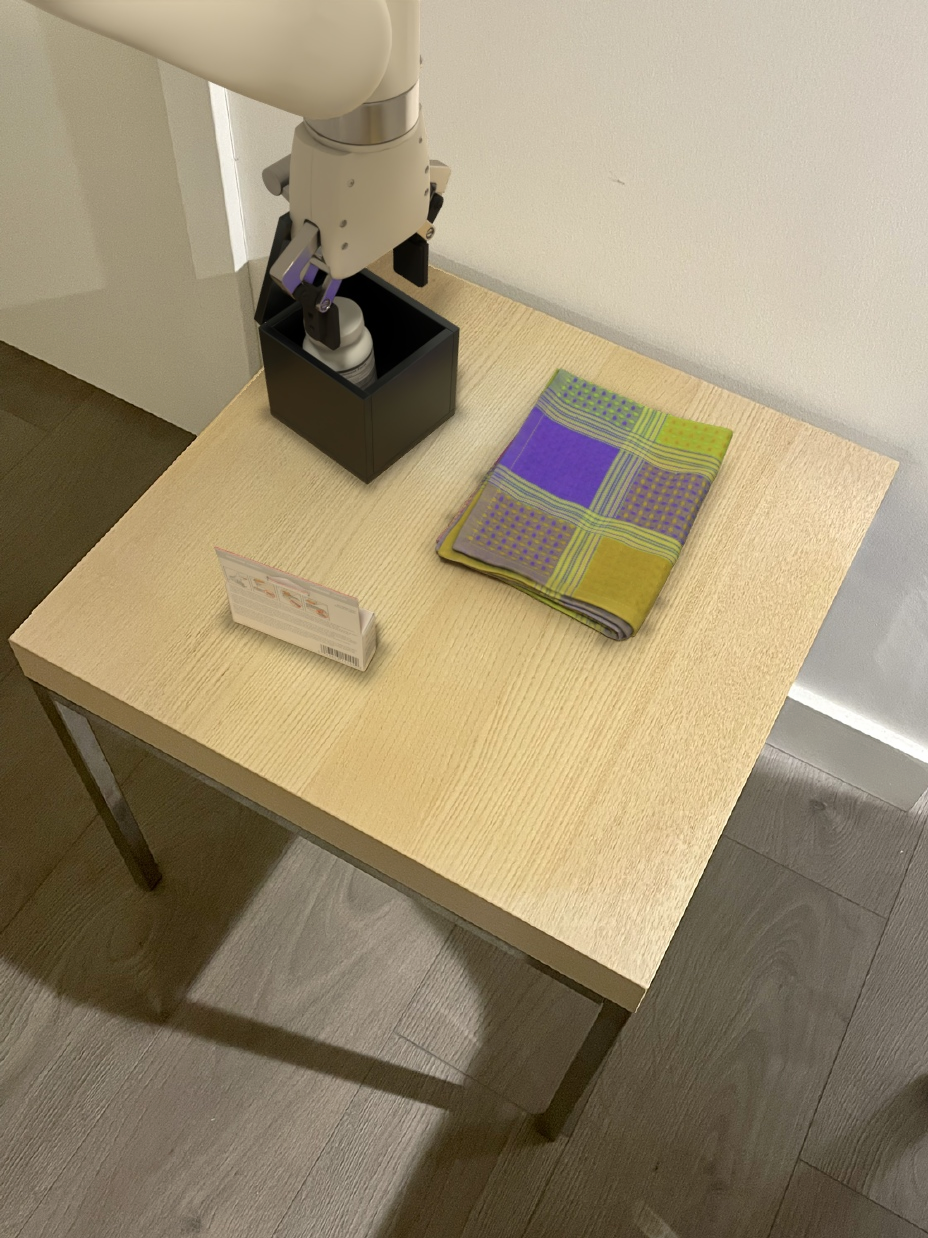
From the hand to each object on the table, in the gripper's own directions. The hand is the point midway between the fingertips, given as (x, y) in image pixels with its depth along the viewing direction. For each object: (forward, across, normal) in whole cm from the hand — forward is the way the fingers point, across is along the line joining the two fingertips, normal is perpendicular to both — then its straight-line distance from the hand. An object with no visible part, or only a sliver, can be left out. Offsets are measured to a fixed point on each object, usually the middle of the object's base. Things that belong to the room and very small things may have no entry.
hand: (367, 308), depth 83 cm
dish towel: (+12, -6, +20) cm, 24 cm away
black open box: (+12, 0, -1) cm, 12 cm away
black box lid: (-4, 0, -4) cm, 6 cm away
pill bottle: (+12, +1, -2) cm, 12 cm away
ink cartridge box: (+12, +20, +12) cm, 26 cm away
